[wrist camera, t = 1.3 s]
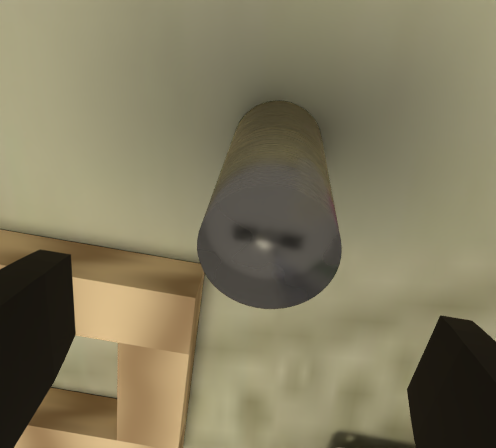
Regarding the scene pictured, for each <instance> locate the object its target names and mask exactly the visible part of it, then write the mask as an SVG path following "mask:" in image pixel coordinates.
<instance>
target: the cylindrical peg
mask: <svg viewBox="0 0 496 448" xmlns="http://www.w3.org/2000/svg"><path fill="white" fill-rule="evenodd" d="M341 249H342V248H341V239H340V233H339V228H338V223H337V217H336V212H335V207H334V201H333V196H332V191H331V185H330V180H329V175H328V169H327V164H326V158H325V153H324V148H323V142H322V137H321V133H320V129H319V127H318V125H317V123H316V121H315V120H314V118H313V117H312V116H311V115H310V114H309V113H308V112H307V111H306V110H305V109H303V108H302V107H300V106H298V105H296V104H293V103H290V102H286V101H270V102H265V103H262V104H260V105H258V106H256V107H254V108H252V109H251V110H250V111H249V112H247V113H246V114H245V115H244V116H243V118H242V119H241V121H240V122H239V124H238V126H237V128H236V131H235V134H234V136H233V139H232V142H231V145H230V147H229V150H228V153H227V156H226V159H225V161H224V164H223V167H222V170H221V172H220V175H219V178H218V181H217V183H216V186H215V189H214V192H213V194H212V197H211V200H210V203H209V205H208V208H207V211H206V214H205V216H204V219H203V222H202V225H201V228H200V230H199V234H198V240H197V251H198V257H199V261H200V264H201V266H202V269H203V271H204V273H205V274H206V276H207V278H208V279H209V280H210V281H211V283H212V284H213V285H214V286H215V287H216V288H217V289H218V290H219V291H221V292H222V293H223V294H225V295H226V296H228V297H229V298H231V299H233V300H235V301H237V302H239V303H242V304H245V305H248V306H252V307H256V308H263V309H279V308H287V307H292V306H295V305H298V304H301V303H303V302H305V301H308V300H309V299H311V298H313V297H315V296H316V295H317V294H319V293H320V292H321V291H322V290H323V289H324V288H325V287H326V286H327V285H328V284H329V283H330V282H331V280H332V279H333V277H334V275H335V274H336V272H337V269H338V267H339V264H340V259H341Z"/></svg>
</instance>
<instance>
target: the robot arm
mask: <svg viewBox="0 0 496 448" xmlns="http://www.w3.org/2000/svg"><path fill="white" fill-rule="evenodd" d="M75 335H76V330H75V313H74V296H73V279H72V263H71V254H65V253H59V252H53V251H47V250H41V249H40V250H37V251H35V252H33V253H31V254H29V255H27V256H25V257H23V258H21V259H19V260H17V261H15V262H13V263H11V264H9V265H7V266H5V267H4V268H2V269H0V448H14V447H15V445H16V443H17V442H18V440H19V439H20V437H21V435H22V434H23V432H24V430H25V429H26V427H27V426H28V424H29V422H30V421H31V419H32V417H33V416H34V414H35V413H36V411H37V409H38V408H39V406H40V404H41V403H42V401H43V399H44V398H45V396H46V394H47V393H48V391H49V389H50V388H51V386H52V384H53V383H54V381H55V379H56V377H57V375H58V372H59V370H60V368H61V366H62V364H63V362H64V360H65V357H66V355H67V353H68V351H69V348H70V346H71V344H72V341H73V339H74V337H75ZM407 392H408V400H409V407H410V415H411V422H412V428H413V434H414V441H415V444H416V448H496V342H495V341H494V340H493V339H492V338H491V337H490V336H489V335H488V334H487V333H486V332H485V331H483V330H482V329H481V328H480V327H479V326H478V325H476V324H475V323H474V322H473V321H470V320H464V319H458V318H452V317H446V316H440V318H439V320H438V322H437V324H436V326H435V329H434V331H433V333H432V335H431V338H430V340H429V342H428V344H427V346H426V349H425V351H424V353H423V355H422V357H421V360H420V362H419V364H418V366H417V368H416V371H415V373H414V375H413V377H412V380H411V382H410V384H409V386H408V388H407ZM337 448H343V447H337Z"/></svg>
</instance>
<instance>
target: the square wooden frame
mask: <svg viewBox="0 0 496 448" xmlns="http://www.w3.org/2000/svg"><path fill="white" fill-rule="evenodd" d="M40 249H41V250H47V251H53V252H59V253H65V254H71V263H72V279H73V296H74V313H75V330H76V335H77V336H83V337H89V338H95V339H101V340H106V341H112V342H118V386H117V399H114V398H108V397H102V396H96V395H91V394H85V393H79V392H73V391H67V390H62V389H56V388H50V389H49V391H48V393H47V394H46V396H45V398H44V399H43V401H42V403H41V404H40V406H39V408H38V409H37V411H36V413H35V414H34V416H33V417H32V419H31V421H30V422H29V424H28V426H27V427H26V429H25V430H24V432H23V434H22V435H21V437H20V439H19V440H18V442H17V443H16V445H15V447H14V448H183V443H184V435H185V427H186V419H187V411H188V403H189V395H190V386H191V378H192V370H193V362H194V354H195V346H196V338H197V330H198V322H199V314H200V306H201V297H202V289H203V281H204V271H203V269H202V266H201V264H199V263H193V262H187V261H181V260H175V259H169V258H164V257H158V256H152V255H146V254H140V253H134V252H128V251H123V250H117V249H111V248H105V247H99V246H93V245H88V244H82V243H76V242H70V241H64V240H58V239H53V238H47V237H41V236H35V235H29V234H23V233H18V232H12V231H6V230H0V269H2V268H4V267H5V266H7V265H9V264H11V263H13V262H15V261H17V260H19V259H21V258H23V257H25V256H27V255H29V254H31V253H33V252H35V251H37V250H40Z"/></svg>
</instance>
